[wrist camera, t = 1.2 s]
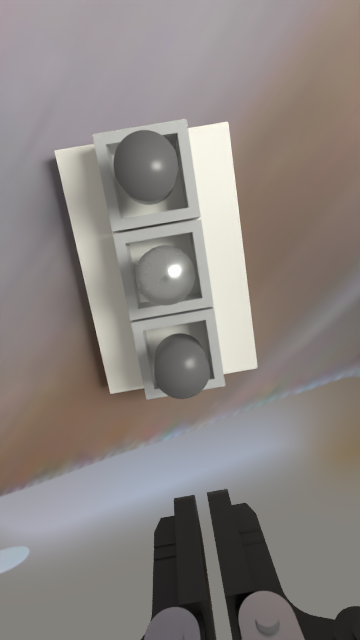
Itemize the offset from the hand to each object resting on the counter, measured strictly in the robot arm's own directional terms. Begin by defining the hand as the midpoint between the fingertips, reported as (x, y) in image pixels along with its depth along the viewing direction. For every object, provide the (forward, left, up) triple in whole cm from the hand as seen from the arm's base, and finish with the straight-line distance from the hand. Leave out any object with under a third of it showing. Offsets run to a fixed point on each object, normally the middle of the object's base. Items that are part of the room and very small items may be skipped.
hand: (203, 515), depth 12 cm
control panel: (0, -7, -22) cm, 23 cm away
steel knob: (0, -7, -17) cm, 18 cm away
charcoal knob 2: (0, 0, -17) cm, 17 cm away
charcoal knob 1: (0, -14, -17) cm, 22 cm away
